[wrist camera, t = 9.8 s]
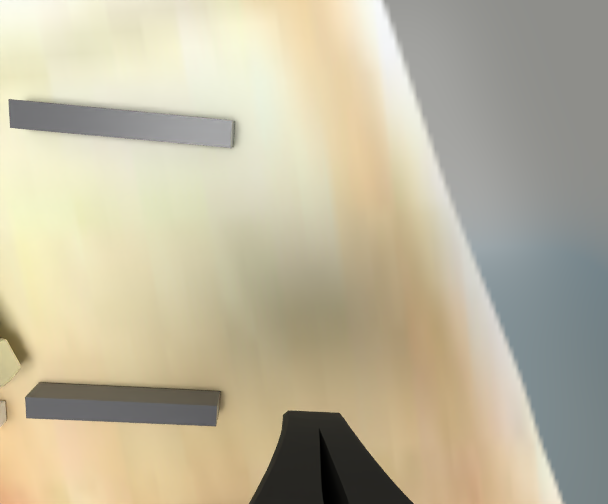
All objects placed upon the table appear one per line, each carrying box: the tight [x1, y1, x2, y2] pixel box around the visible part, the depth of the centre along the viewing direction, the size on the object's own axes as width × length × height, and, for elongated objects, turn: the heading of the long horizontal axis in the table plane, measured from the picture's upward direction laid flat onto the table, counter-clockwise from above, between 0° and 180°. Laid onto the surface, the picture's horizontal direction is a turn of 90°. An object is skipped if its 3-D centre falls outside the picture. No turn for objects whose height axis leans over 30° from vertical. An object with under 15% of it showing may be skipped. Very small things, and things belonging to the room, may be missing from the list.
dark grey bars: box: [9, 99, 235, 426], centre depth 19 cm, size 13×8×1 cm, turn 175°
